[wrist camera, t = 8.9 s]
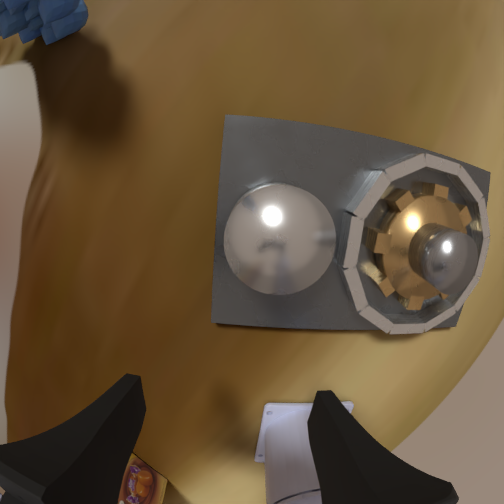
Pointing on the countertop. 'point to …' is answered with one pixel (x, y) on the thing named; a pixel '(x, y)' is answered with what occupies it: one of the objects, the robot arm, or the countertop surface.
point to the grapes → (41, 18)
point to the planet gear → (422, 246)
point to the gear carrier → (324, 226)
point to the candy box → (141, 484)
